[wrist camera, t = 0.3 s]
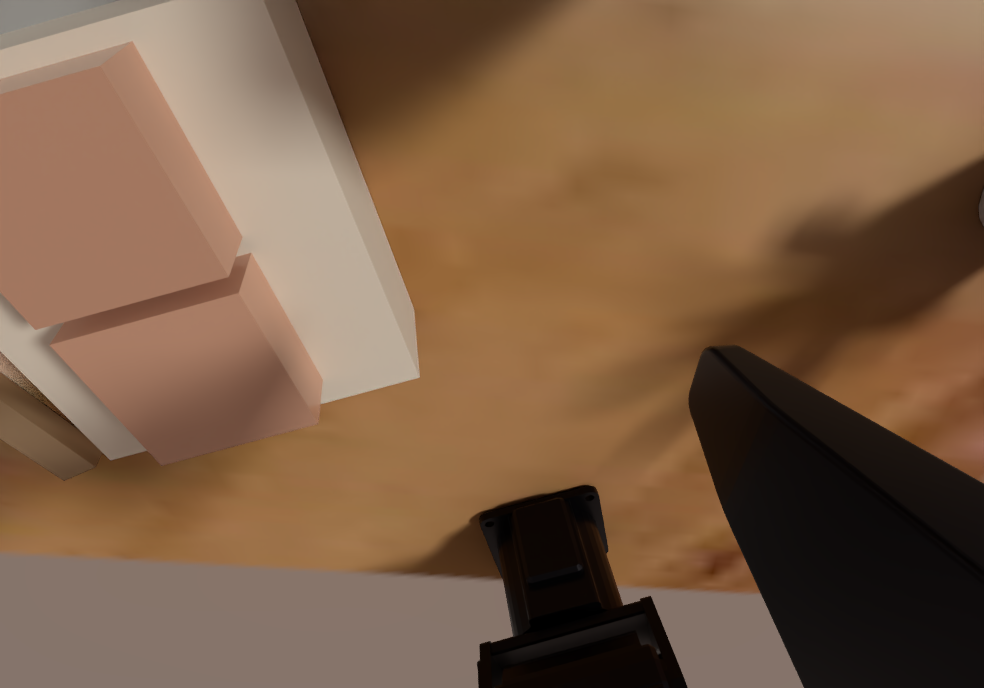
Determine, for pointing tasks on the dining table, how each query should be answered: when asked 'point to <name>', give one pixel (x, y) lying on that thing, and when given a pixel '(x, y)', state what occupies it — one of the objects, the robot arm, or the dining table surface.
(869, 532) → the robot arm
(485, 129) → the dining table surface
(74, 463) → the wooden spatula
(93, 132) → the tile
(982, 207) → the house plant
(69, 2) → the tray
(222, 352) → the tile
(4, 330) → the white flat box
